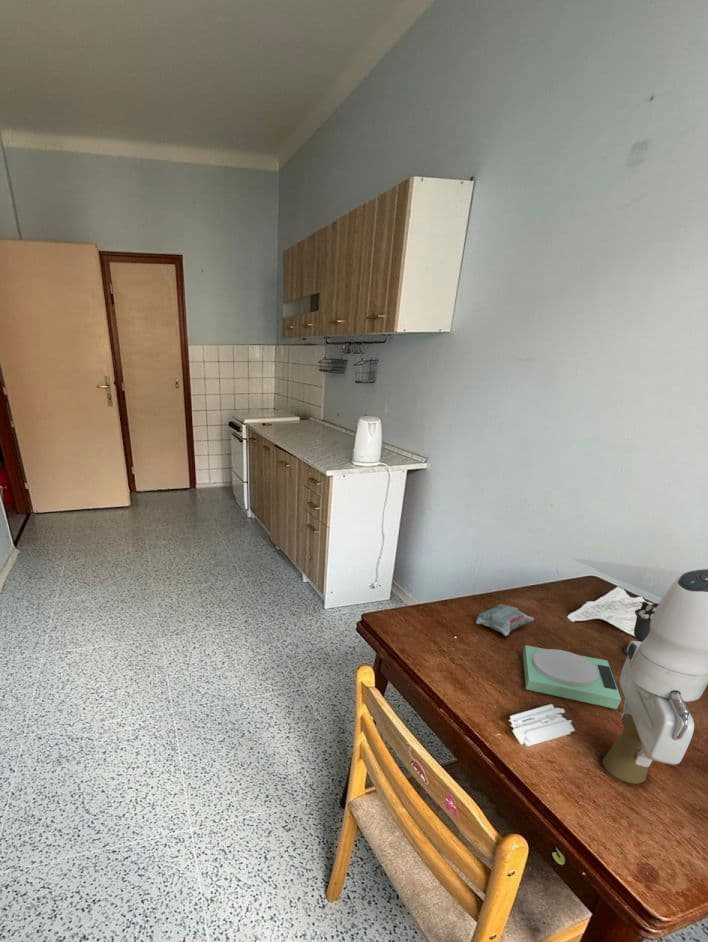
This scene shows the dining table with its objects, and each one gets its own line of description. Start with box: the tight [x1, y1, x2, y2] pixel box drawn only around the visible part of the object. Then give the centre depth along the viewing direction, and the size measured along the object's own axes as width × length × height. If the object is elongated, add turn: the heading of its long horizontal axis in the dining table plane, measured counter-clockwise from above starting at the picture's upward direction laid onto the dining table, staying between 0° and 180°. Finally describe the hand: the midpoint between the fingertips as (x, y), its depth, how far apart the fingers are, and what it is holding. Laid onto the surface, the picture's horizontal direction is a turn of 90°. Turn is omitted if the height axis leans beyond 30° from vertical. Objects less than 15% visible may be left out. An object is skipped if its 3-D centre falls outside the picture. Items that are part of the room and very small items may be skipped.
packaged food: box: [475, 603, 535, 637], centre depth 119 cm, size 9×12×5 cm
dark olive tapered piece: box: [602, 714, 650, 784], centre depth 77 cm, size 6×6×11 cm
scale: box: [522, 644, 622, 710], centre depth 100 cm, size 16×14×4 cm
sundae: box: [623, 601, 659, 656], centre depth 105 cm, size 7×7×15 cm
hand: (633, 742), depth 77 cm, fingers open, 8 cm apart
